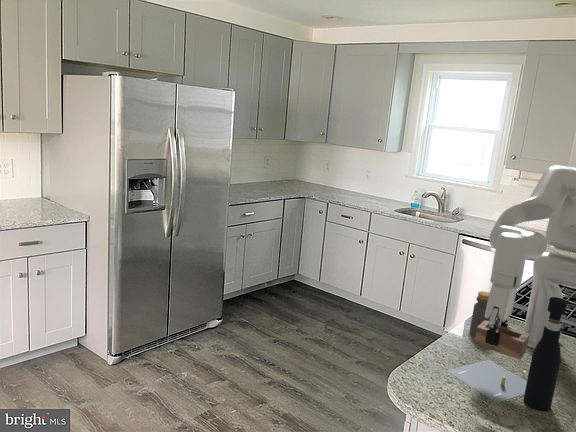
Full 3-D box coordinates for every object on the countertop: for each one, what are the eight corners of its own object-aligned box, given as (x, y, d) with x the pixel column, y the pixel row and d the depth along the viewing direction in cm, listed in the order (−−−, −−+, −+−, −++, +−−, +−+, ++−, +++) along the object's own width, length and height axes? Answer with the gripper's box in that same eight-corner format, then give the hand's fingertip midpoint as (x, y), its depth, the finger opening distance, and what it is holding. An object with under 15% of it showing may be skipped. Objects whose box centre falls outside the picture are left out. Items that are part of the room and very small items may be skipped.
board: (488, 363, 151) (490, 352, 150) (539, 392, 136) (541, 380, 136) (446, 374, 142) (447, 362, 141) (495, 407, 128) (498, 394, 127)
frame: (482, 336, 142) (484, 319, 141) (526, 351, 135) (529, 333, 134) (474, 343, 137) (477, 326, 136) (519, 359, 130) (523, 341, 129)
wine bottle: (553, 417, 125) (577, 306, 119) (526, 412, 126) (548, 302, 120) (545, 403, 131) (568, 297, 125) (519, 399, 132) (540, 293, 126)
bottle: (482, 340, 167) (489, 298, 164) (466, 333, 171) (473, 292, 168) (490, 335, 171) (498, 294, 167) (474, 329, 175) (481, 289, 172)
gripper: (501, 267, 142) (491, 325, 146) (481, 282, 128) (471, 345, 132) (529, 274, 137) (518, 334, 141) (511, 290, 124) (500, 355, 128)
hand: (495, 339), depth 137 cm, fingers closed on frame, 6 cm apart
